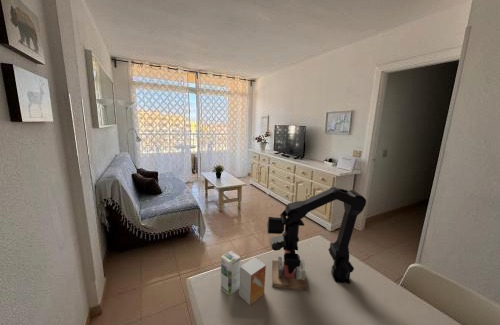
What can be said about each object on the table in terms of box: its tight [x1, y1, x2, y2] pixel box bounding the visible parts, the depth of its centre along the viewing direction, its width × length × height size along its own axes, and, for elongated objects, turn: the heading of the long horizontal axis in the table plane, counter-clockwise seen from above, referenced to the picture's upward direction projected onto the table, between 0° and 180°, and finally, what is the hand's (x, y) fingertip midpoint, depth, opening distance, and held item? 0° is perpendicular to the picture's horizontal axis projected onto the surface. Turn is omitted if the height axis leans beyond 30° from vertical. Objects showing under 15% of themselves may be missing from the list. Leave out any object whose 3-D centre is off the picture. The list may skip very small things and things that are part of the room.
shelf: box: [271, 259, 308, 291], centre depth 89 cm, size 14×14×2 cm
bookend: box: [277, 256, 283, 279], centre depth 89 cm, size 2×8×4 cm, turn 174°
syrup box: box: [220, 250, 241, 297], centre depth 81 cm, size 6×6×14 cm
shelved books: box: [295, 258, 306, 280], centre depth 88 cm, size 3×7×4 cm, turn 174°
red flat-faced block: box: [283, 250, 294, 278], centre depth 88 cm, size 4×6×9 cm, turn 174°
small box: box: [238, 257, 267, 306], centre depth 78 cm, size 8×6×13 cm
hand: (288, 265), depth 89 cm, fingers open, 9 cm apart
